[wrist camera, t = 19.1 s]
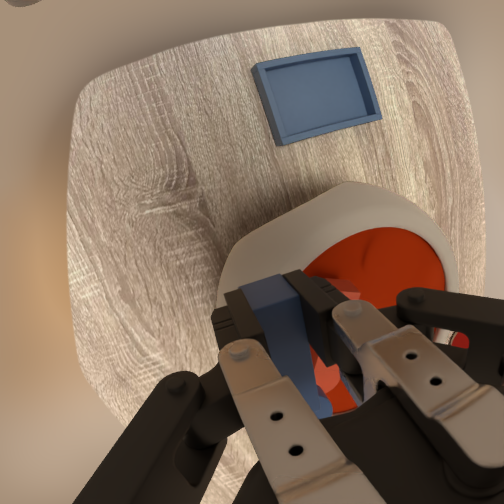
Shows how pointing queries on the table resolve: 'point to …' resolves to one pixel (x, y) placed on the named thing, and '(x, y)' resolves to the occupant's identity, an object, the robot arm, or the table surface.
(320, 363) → the red spoon
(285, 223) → the pot
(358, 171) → the table surface
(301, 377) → the blue spoon
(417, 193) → the table surface
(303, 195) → the table surface
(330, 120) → the blue tray
